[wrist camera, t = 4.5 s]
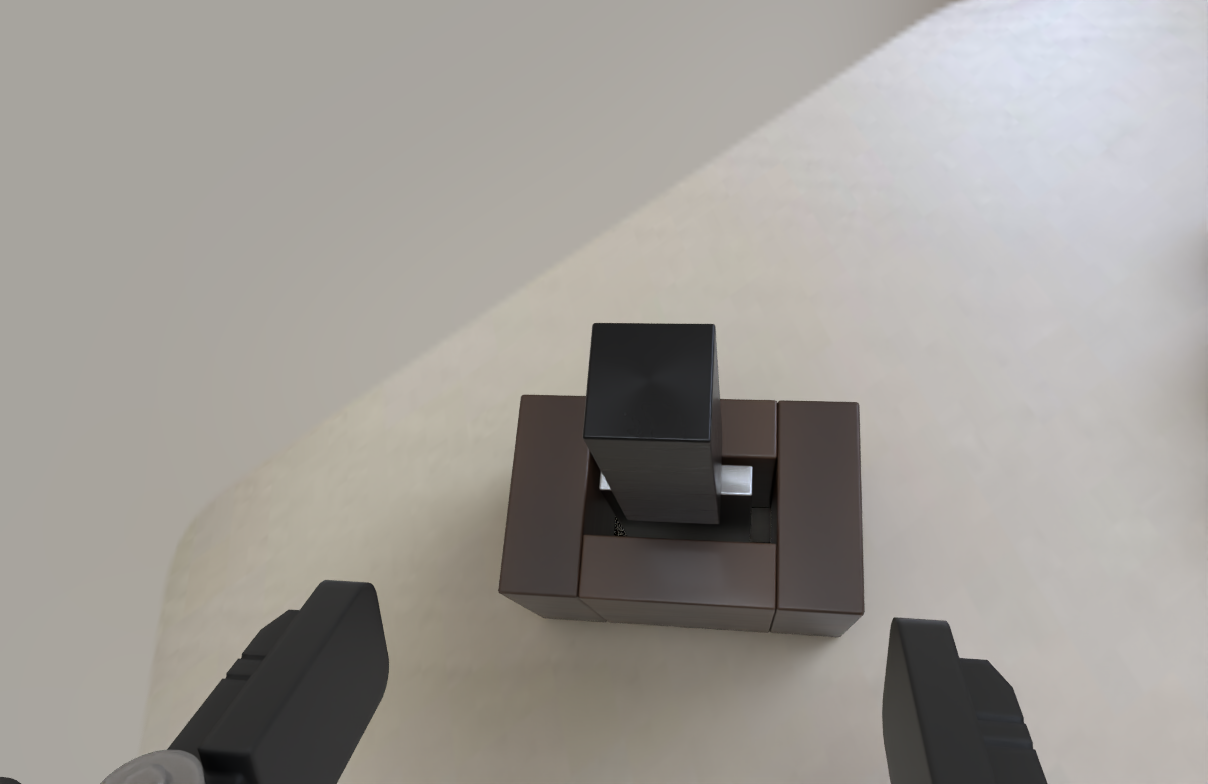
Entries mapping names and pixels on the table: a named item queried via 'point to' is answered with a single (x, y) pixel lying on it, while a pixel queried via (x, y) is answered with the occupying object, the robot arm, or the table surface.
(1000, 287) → the table surface
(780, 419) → the brown rectangular frame
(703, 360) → the dark grey tall bar
